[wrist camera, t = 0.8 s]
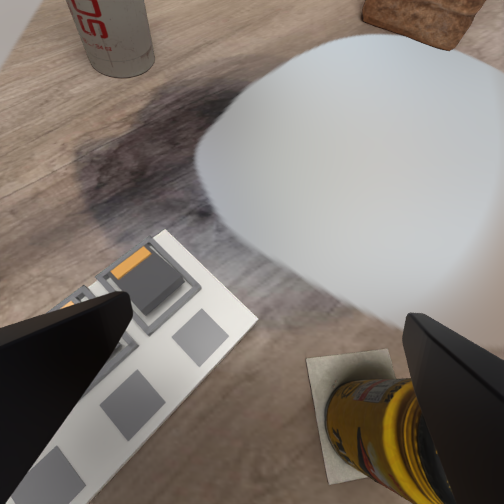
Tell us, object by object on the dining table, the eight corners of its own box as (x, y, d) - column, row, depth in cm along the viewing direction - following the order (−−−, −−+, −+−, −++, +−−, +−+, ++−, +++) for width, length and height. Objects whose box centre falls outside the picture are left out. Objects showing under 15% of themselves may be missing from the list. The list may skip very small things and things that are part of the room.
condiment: (328, 484, 21) (450, 591, 10) (305, 358, 24) (376, 335, 13) (420, 466, 22) (621, 545, 11) (385, 349, 25) (512, 320, 14)
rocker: (145, 316, 20) (139, 310, 19) (112, 280, 22) (105, 272, 21) (185, 282, 22) (181, 274, 21) (150, 250, 24) (145, 242, 23)
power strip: (-85, 689, 15) (-160, 764, 12) (-172, 509, 17) (-252, 534, 14) (254, 325, 25) (259, 316, 22) (169, 242, 27) (163, 224, 24)
